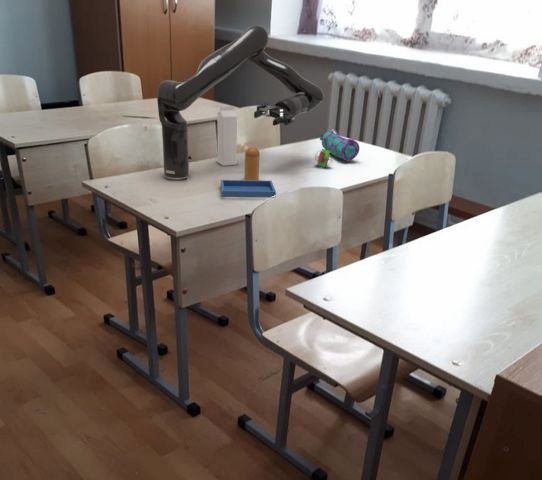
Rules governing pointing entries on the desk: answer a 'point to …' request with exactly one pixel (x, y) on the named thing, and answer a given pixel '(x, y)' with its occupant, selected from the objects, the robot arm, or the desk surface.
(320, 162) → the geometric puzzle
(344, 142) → the pencil case
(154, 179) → the desk surface
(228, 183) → the tray
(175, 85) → the robot arm
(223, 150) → the milk
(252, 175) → the orange rounded cylinder
